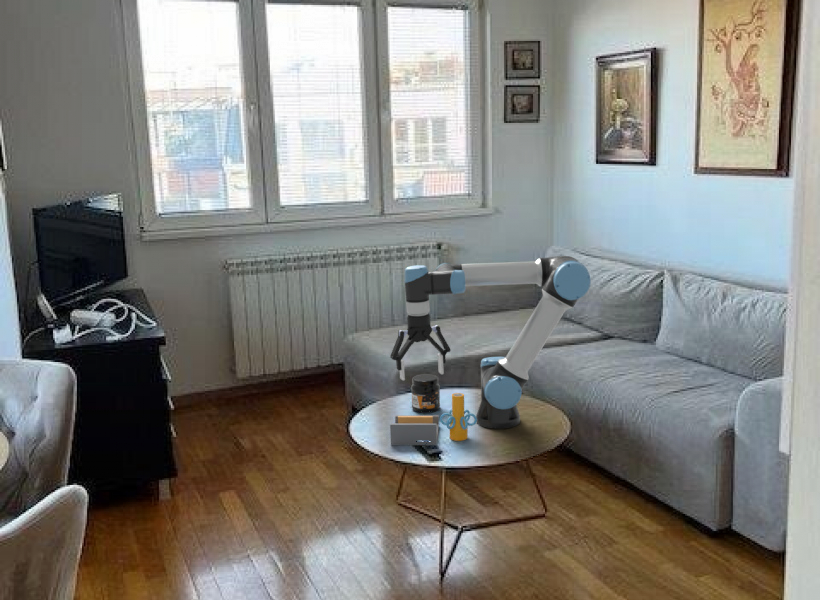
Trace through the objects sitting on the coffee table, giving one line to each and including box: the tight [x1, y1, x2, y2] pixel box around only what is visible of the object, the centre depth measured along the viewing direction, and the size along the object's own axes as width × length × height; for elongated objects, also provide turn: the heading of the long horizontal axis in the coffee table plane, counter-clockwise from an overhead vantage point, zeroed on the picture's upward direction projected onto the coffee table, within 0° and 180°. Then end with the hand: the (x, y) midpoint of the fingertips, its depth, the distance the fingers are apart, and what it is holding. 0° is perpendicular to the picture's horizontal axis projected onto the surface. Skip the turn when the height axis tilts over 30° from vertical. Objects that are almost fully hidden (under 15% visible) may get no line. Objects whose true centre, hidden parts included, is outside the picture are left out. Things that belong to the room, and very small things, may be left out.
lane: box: [389, 414, 440, 446], centre depth 283 cm, size 15×18×7 cm
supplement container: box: [410, 373, 441, 414], centre depth 309 cm, size 10×10×12 cm
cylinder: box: [439, 392, 477, 442], centre depth 278 cm, size 12×10×15 cm
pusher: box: [398, 416, 433, 423], centre depth 284 cm, size 12×1×6 cm, turn 86°
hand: (421, 376), depth 278 cm, fingers open, 13 cm apart
